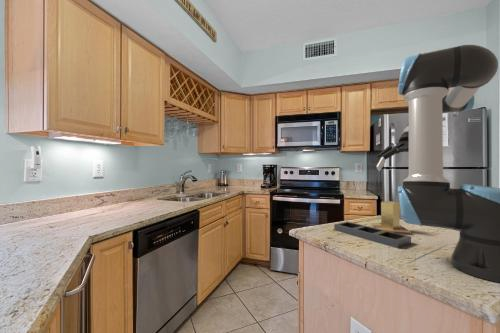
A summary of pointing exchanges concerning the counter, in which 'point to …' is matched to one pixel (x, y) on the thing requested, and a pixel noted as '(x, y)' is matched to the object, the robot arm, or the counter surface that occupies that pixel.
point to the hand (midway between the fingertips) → (393, 168)
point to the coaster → (399, 231)
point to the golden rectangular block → (390, 215)
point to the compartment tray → (374, 234)
